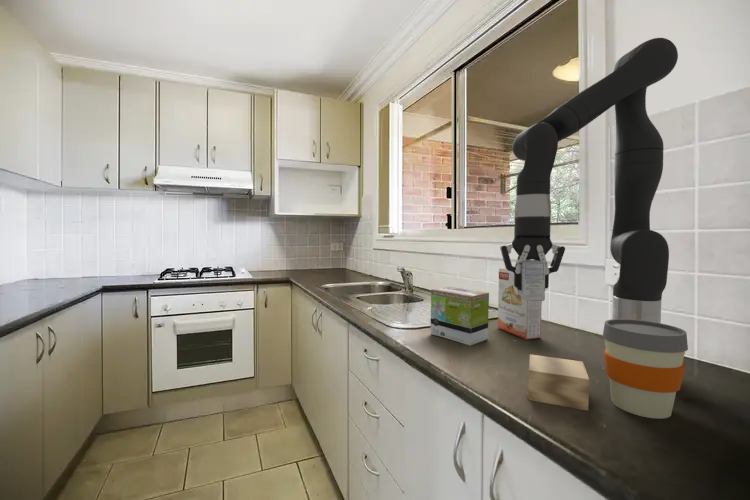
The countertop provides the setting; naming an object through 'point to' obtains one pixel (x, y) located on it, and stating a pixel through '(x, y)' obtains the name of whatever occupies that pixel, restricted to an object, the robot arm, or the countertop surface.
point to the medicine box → (533, 280)
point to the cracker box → (517, 309)
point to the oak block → (558, 382)
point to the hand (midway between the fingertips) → (530, 289)
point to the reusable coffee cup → (644, 365)
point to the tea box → (460, 314)
